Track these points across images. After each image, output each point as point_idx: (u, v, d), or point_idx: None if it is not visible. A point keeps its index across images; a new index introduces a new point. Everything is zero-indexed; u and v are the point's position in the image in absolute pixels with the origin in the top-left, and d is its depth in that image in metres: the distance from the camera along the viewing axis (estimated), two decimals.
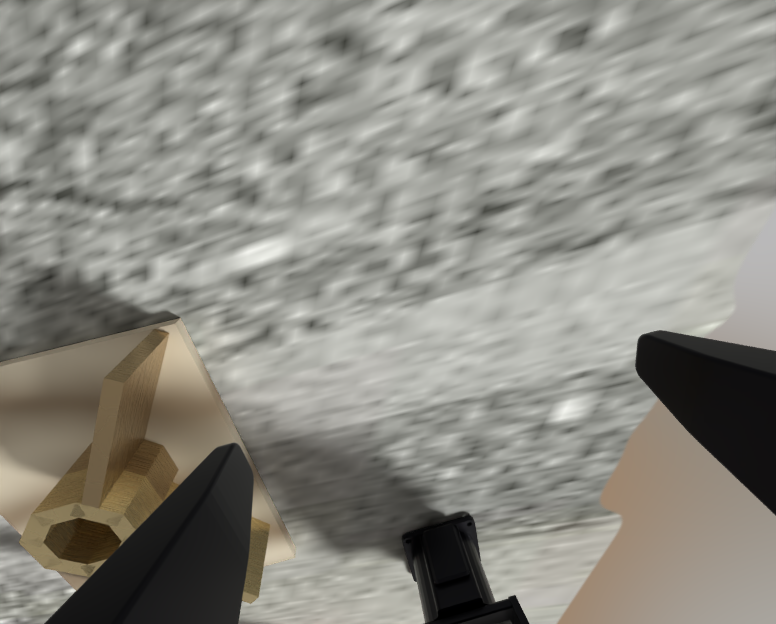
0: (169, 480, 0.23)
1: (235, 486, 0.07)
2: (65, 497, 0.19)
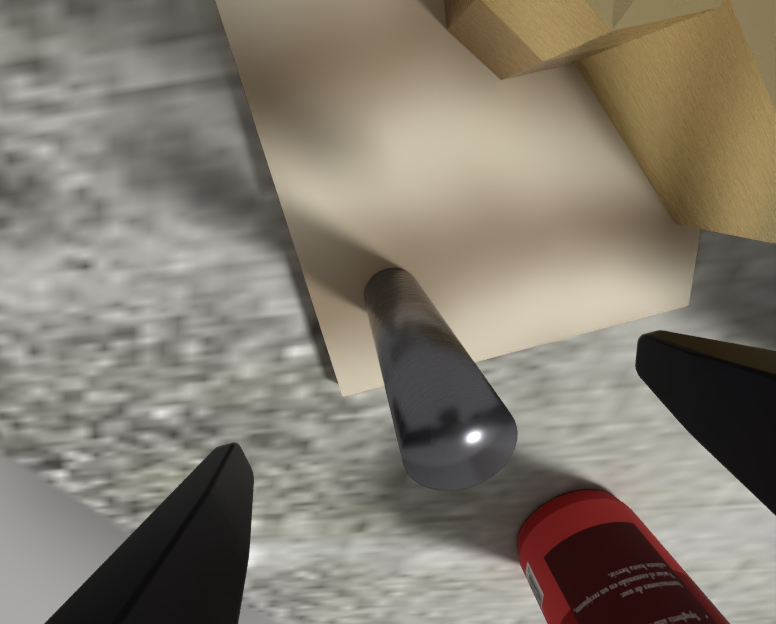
0: None
1: (235, 486, 0.07)
2: None
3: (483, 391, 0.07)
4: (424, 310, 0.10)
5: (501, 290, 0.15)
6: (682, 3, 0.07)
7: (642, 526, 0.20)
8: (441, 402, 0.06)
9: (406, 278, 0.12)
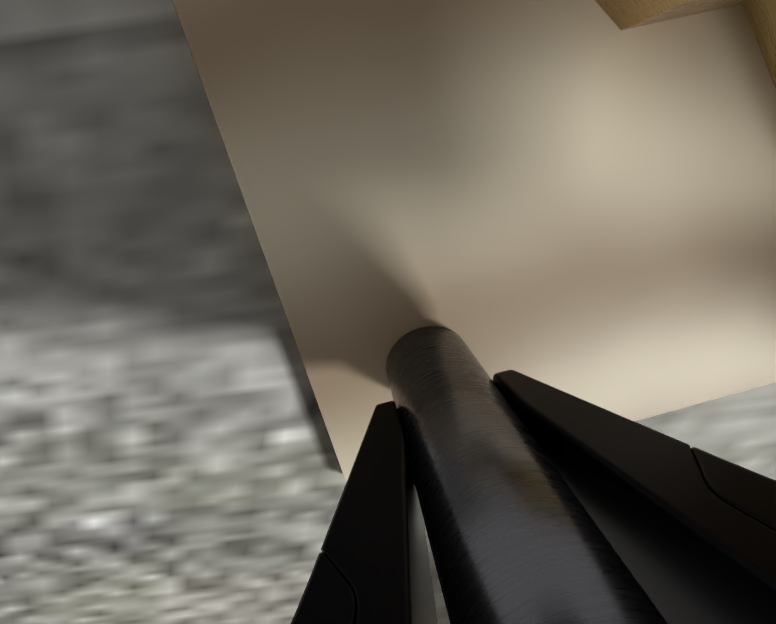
0: None
1: None
2: None
3: None
4: (516, 447, 0.05)
5: (585, 353, 0.10)
6: None
7: None
8: None
9: (457, 350, 0.08)
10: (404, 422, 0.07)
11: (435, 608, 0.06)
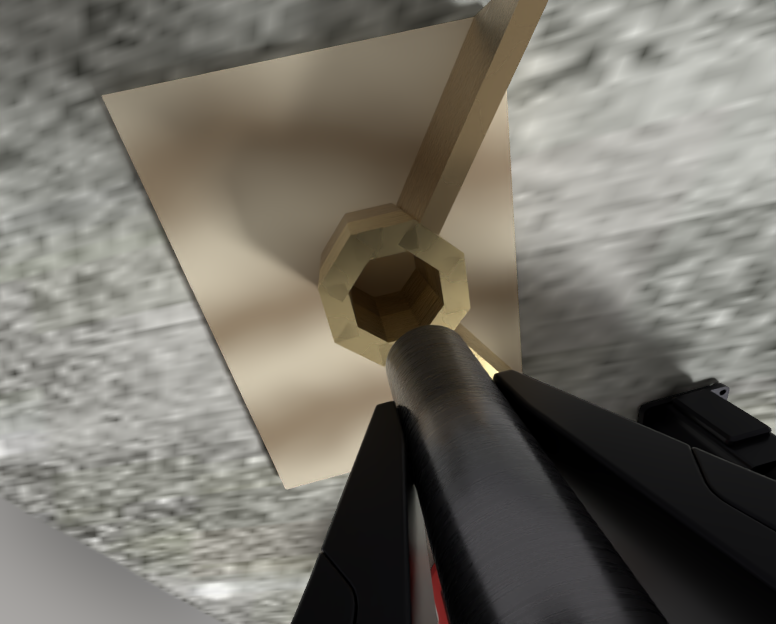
0: None
1: None
2: (385, 223, 0.13)
3: None
4: (515, 446, 0.05)
5: None
6: None
7: None
8: None
9: (456, 349, 0.08)
10: (404, 421, 0.07)
11: (435, 608, 0.06)
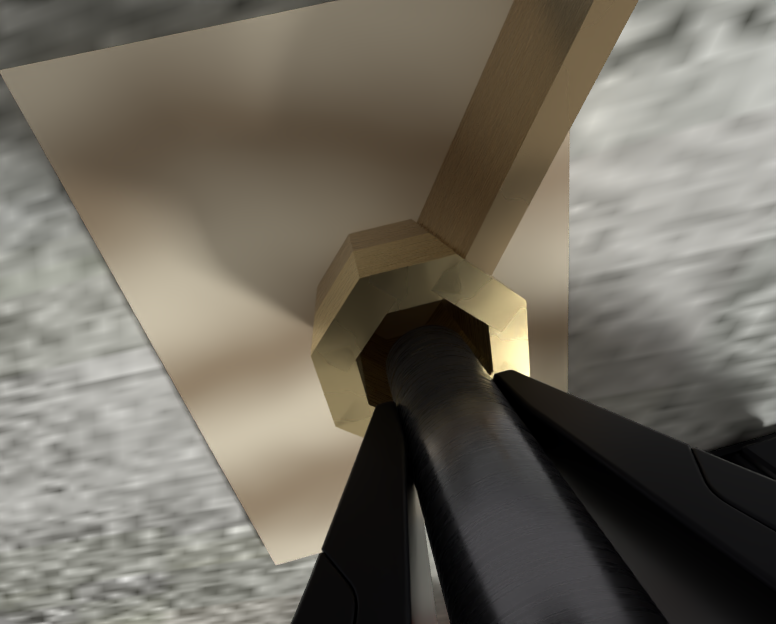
0: None
1: None
2: (411, 257, 0.09)
3: None
4: (515, 446, 0.05)
5: None
6: None
7: None
8: None
9: (456, 349, 0.08)
10: (404, 421, 0.07)
11: (435, 608, 0.06)
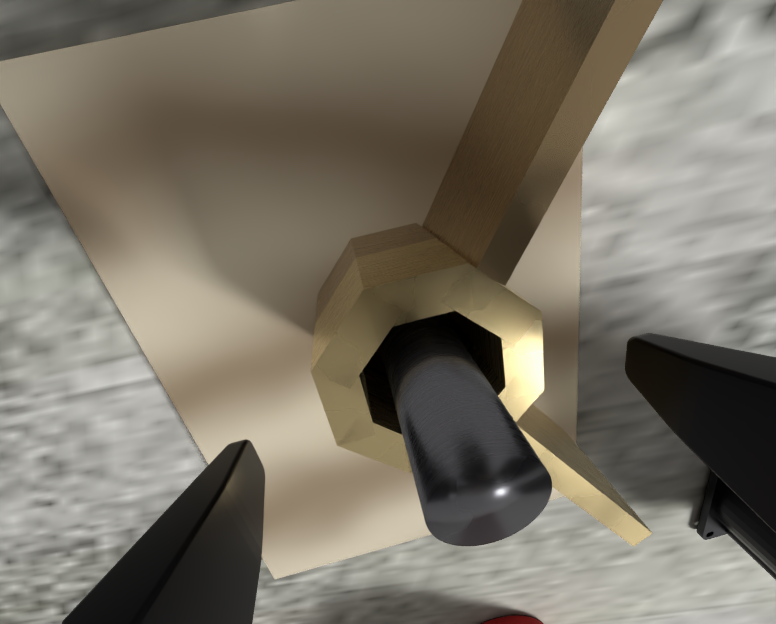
0: None
1: (248, 483, 0.07)
2: (418, 265, 0.08)
3: (516, 445, 0.06)
4: (440, 332, 0.09)
5: (405, 498, 0.17)
6: None
7: None
8: (470, 460, 0.06)
9: None
10: None
11: None
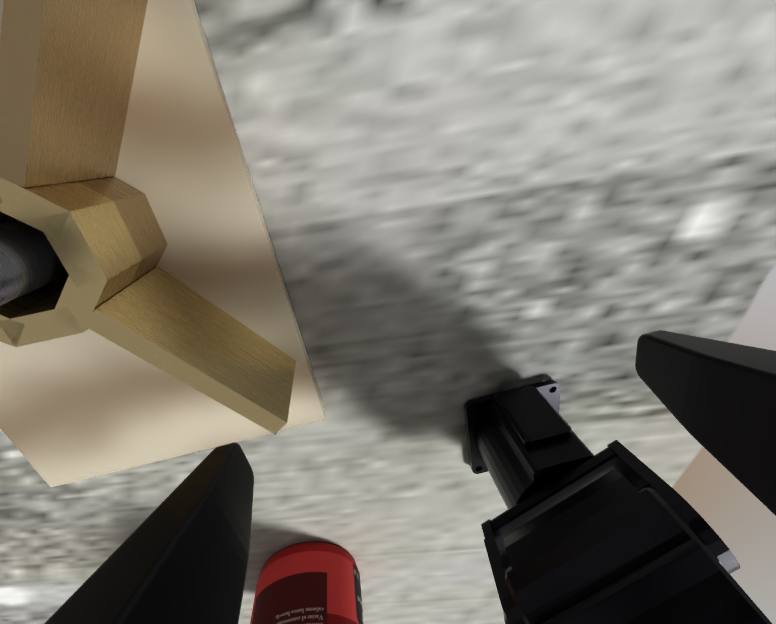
0: (153, 243, 0.15)
1: (235, 486, 0.07)
2: None
3: None
4: (8, 226, 0.12)
5: (157, 415, 0.20)
6: (57, 332, 0.12)
7: (336, 574, 0.25)
8: None
9: None
10: None
11: None
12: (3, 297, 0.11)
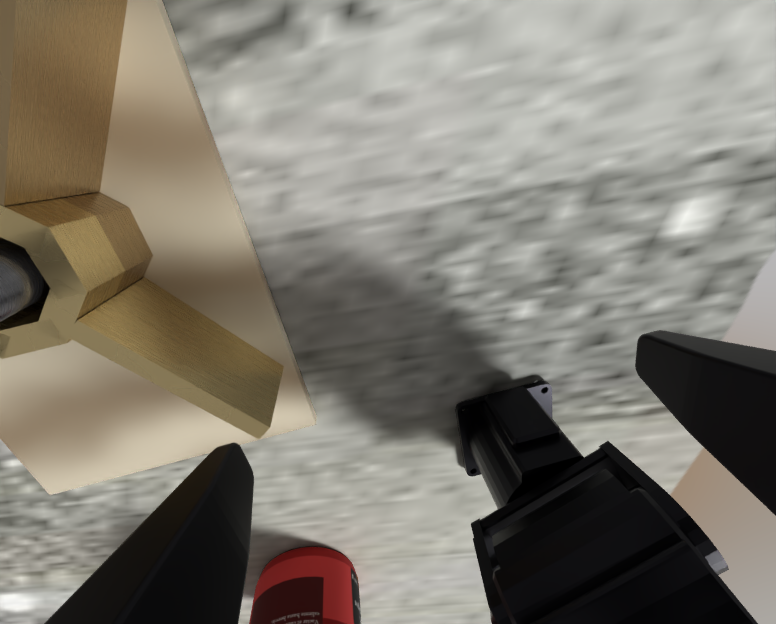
0: (137, 255, 0.16)
1: (235, 486, 0.07)
2: None
3: None
4: (7, 242, 0.12)
5: (150, 423, 0.20)
6: (41, 343, 0.13)
7: (333, 579, 0.26)
8: None
9: None
10: None
11: None
12: (12, 308, 0.11)
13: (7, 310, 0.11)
